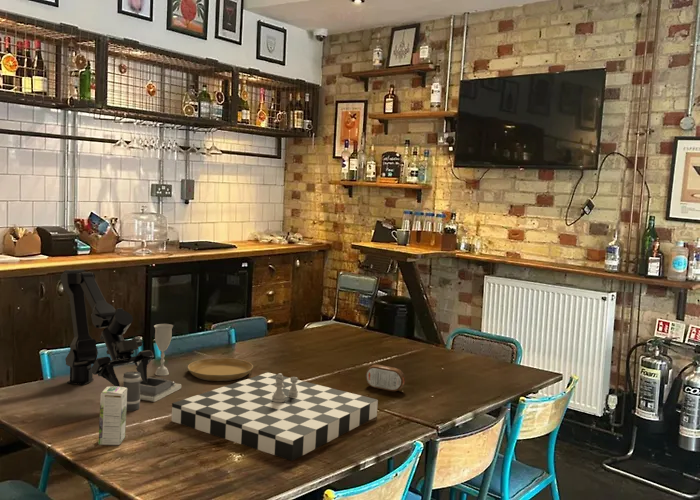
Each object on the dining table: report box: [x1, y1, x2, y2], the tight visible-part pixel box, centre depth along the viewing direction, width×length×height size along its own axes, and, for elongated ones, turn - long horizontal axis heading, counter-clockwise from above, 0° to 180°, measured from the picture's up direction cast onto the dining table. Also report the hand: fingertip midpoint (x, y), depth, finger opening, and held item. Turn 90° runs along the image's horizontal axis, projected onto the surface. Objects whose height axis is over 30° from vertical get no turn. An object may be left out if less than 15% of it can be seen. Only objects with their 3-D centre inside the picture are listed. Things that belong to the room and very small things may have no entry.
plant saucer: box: [187, 357, 254, 382], centre depth 249 cm, size 24×24×3 cm
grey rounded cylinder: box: [122, 371, 142, 412], centre depth 206 cm, size 5×5×11 cm
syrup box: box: [98, 385, 127, 446], centre depth 179 cm, size 6×6×14 cm
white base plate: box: [140, 376, 182, 403], centre depth 222 cm, size 11×16×4 cm
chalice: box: [153, 323, 174, 377], centre depth 244 cm, size 7×7×18 cm
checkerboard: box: [171, 372, 379, 462], centre depth 204 cm, size 45×45×15 cm
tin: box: [364, 363, 406, 392], centre depth 241 cm, size 15×3×8 cm, turn 65°
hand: (132, 384), depth 205 cm, fingers open, 9 cm apart
